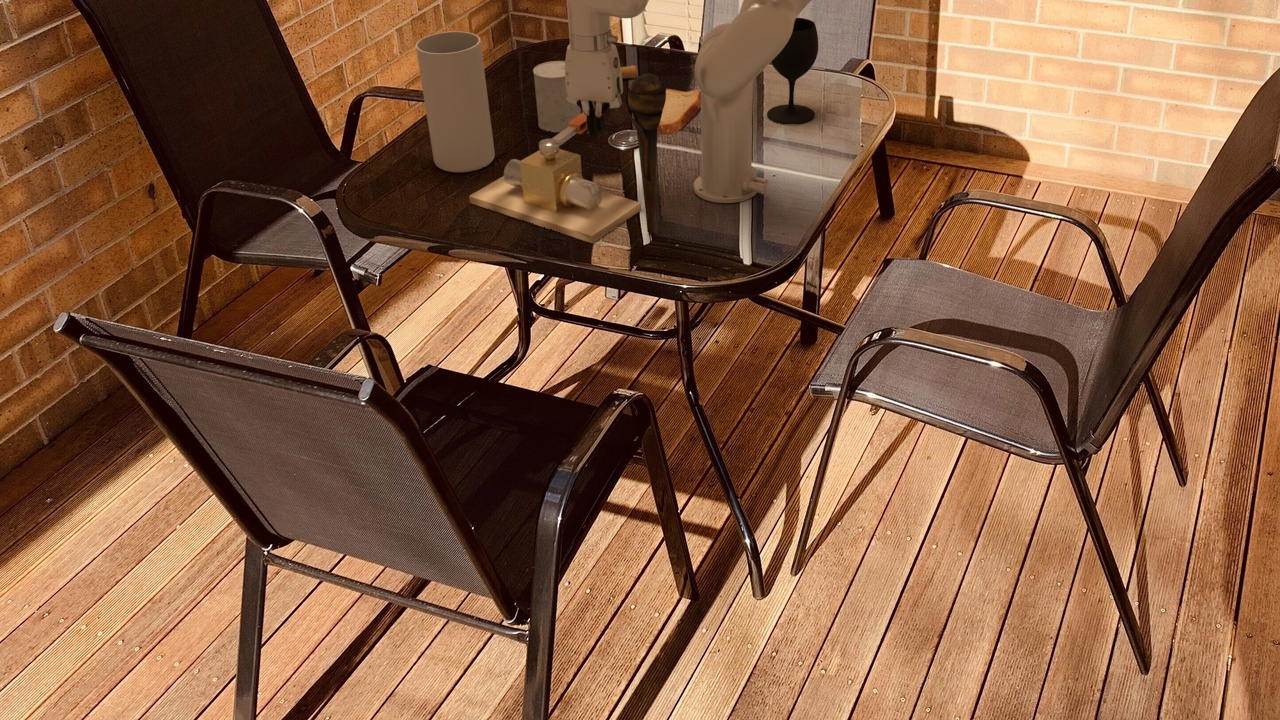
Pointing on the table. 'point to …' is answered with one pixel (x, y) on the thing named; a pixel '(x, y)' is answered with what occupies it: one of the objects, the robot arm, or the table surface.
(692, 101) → the bread slice
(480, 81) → the cylinder vase
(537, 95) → the grey stone cylinder
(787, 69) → the wine glass
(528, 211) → the mounting board
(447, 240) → the table surface
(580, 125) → the valve lever
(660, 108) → the decorative torch
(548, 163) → the valve body
